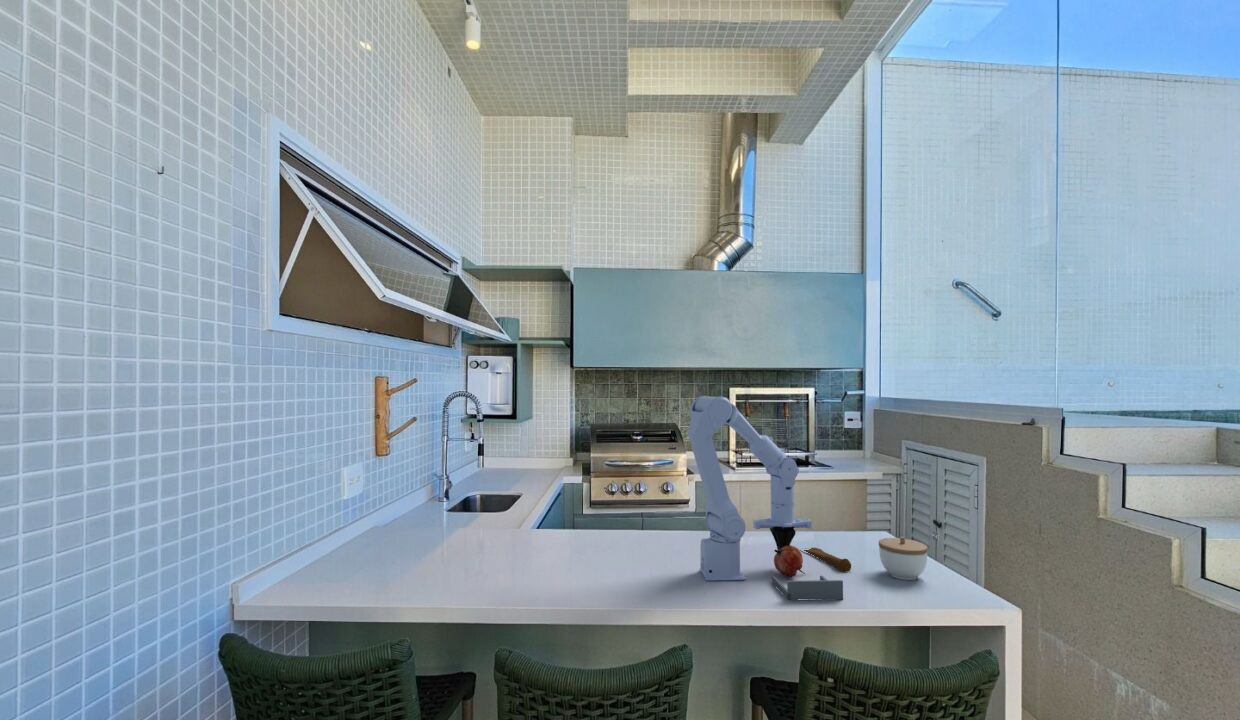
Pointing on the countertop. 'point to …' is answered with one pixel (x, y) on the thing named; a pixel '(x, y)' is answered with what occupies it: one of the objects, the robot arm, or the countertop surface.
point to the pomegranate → (788, 560)
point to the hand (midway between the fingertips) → (782, 556)
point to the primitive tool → (831, 559)
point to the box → (811, 589)
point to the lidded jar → (903, 557)
